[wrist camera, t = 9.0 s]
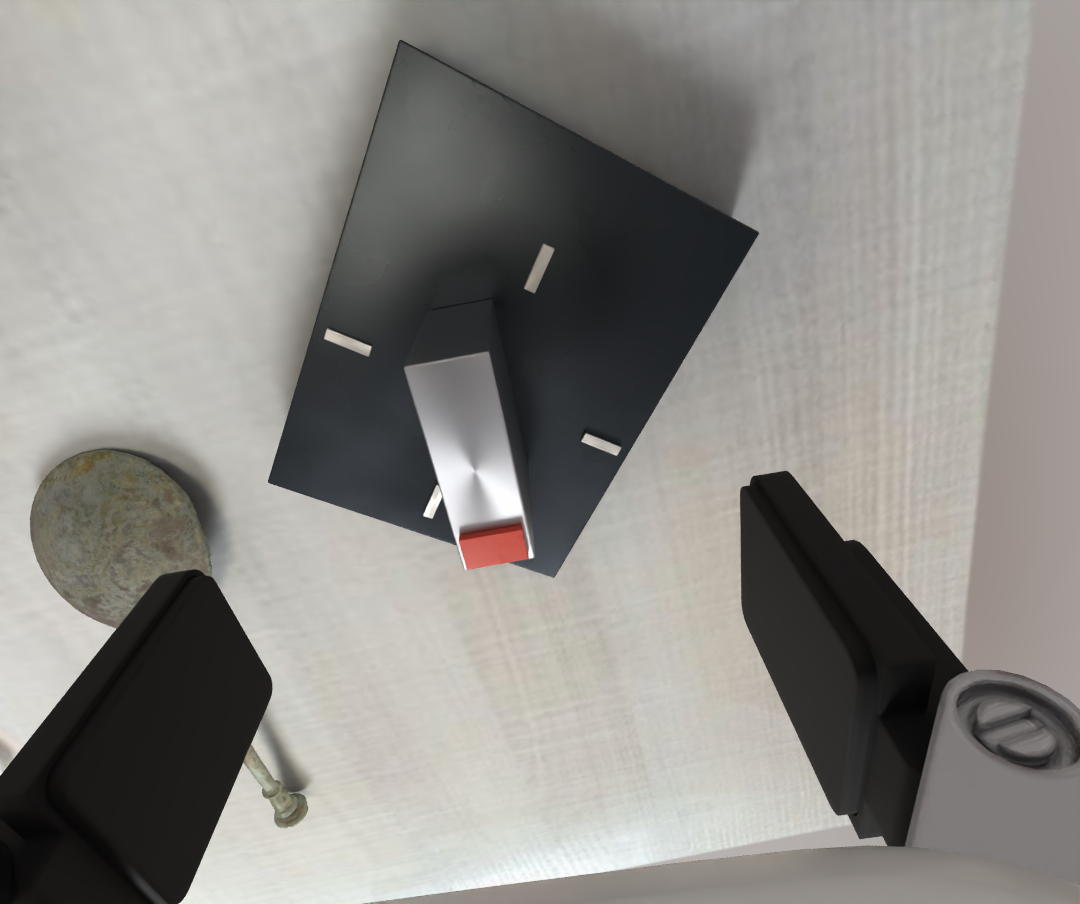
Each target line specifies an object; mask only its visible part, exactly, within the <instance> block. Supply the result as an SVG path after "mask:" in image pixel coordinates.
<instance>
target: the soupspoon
mask: <svg viewBox="0 0 1080 904" xmlns="http://www.w3.org/2000/svg"><path fill="white" fill-rule="evenodd" d="M30 533H31V540H32V544H33V549H34V552H35V555H36V558H37V562H38V563H39V565H40V567H41V569H42V571H43V573H44V575H45V576H46V578H47V579H48V581H49V582H50V584H51V585H52V586H53V587H54V589H55V590H56V591H57V592H58V593H59V594H60V595H61V596H62V597H63V598H64V599H65V600H66V601H67V602H68V603H69V604H71V605H72V606H73V607H74V608H75V609H77V610H78V611H80V612H81V613H83V614H85V615H86V616H88V617H91V618H92V619H94V620H96V621H98V622H101V623H103V624H106V625H109V626H112V627H114V628H118V627H119V625H120V624H121V623H122V622H123V620H124V619H125V618H126V616H127V615H128V614H129V613H130V611H131V610H132V609H133V608H134V606H135V605H136V604H137V603H138V601H139V600H140V599H141V598H142V596H143V595H144V594H145V592H146V591H147V590H148V589H149V587H150V586H151V585H152V584H153V582H154V581H155V580H156V579H157V578H158V577H159V576H161V575H164V574H168V573H174V572H180V571H186V570H192V569H196V570H200V571H201V572H203V573H204V574H205V575H206V576H210V577H211V569H212V566H211V561H210V551H209V546H208V544H207V541H206V539H205V535H204V533H203V530H202V527H201V525H200V522H199V520H198V517H197V513H196V511H195V509H194V506H193V502H192V501H191V500H190V498H189V496H188V494H187V493H186V492H184V490H183V489H182V488H181V487H180V486H179V485H178V484H177V483H176V482H175V481H174V480H172V479H171V476H167V474H166V473H165V472H164V471H163V470H162V469H160V468H159V467H156V466H155V465H153V464H152V463H151V462H149V461H148V460H145V459H142V458H140V457H136V456H135V455H131V454H128V453H122V452H118V451H114V450H104V449H103V450H96V451H92V452H84V453H80V454H78V455H76V456H74V457H72V458H71V459H67V460H65V461H64V462H63V463H61V464H60V465H58V466H57V467H56V468H54V469H53V470H52V471H51V472H50V473H49V474H48V475H47V477H46V478H45V479H44V480H43V482H42V484H41V485H40V487H39V489H38V491H37V493H36V495H35V497H34V501H33V504H32V510H31V516H30ZM244 764H245V765H246V767H247V768H248V769H249V771H250V772H251V773H252V775H253V776H254V777H255V779H256V780H257V781H258V783H259V784H260V785H261V786H262V787H263V789H262V794H263V796H264V797H265V798H266V799H269V800H270V802H271V804H272V806H273V807H274V809H275V815H274V821H275V824H276V825H277V826H278V827H279V828H288V827H293V826H295V825H297V824H299V823H300V822H301V821H302V820H303V818H304V817H305V816H306V814H307V811H308V806H307V801H306V797H305V796H304V795H302V794H299V793H293V794H289V793H288V792H287V791H286V790H285V789H283V788H282V785H281V783H280V782H279V781H277V780H274V779H273V778H272V776H271V774H270V773H269V771H268V770H267V768H266V767H265V765H264V764H263V762H262V761H261V759H260V758H259V756H258V755H257V753H256V751H255V750H254V748H253V747H252V745H250V748H249V750H248V752H247V755H246V757H245V759H244Z"/></svg>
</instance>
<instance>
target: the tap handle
mask: <svg viewBox="0 0 1080 904" xmlns="http://www.w3.org/2000/svg"><path fill="white" fill-rule="evenodd" d="M404 371H405V375H406V378H407V381H408V385H409V388H410V391H411V395H412V398H413V401H414V405H415V408H416V411H417V415H418V418H419V421H420V425H421V428H422V431H423V435H424V438H425V441H426V445H427V448H428V451H429V455H430V458H431V461H432V465H433V468H434V471H435V475H436V478H437V481H438V485H439V488H440V491H441V495H442V498H443V501H444V505H445V508H446V511H447V515H448V518H449V522H450V525H451V528H452V532H453V535H454V538H455V542H456V545H457V548H458V552H459V555H460V558H461V562H462V565H463V568H464V570H468V569H474V568H479V567H485V566H491V565H497V564H503V563H508V562H514V561H520V560H526V559H532V558H535V549H534V536H533V522H532V508H531V495H530V481H529V468H528V463H527V458H526V454H525V449H524V444H523V439H522V435H521V430H520V425H519V420H518V416H517V411H516V406H515V401H514V397H513V392H512V387H511V382H510V378H509V373H508V368H507V363H506V359H505V354H504V349H503V345H502V340H501V335H500V330H499V326H498V321H497V316H496V311H495V307H494V302H493V299H489V300H484V301H478V302H473V303H468V304H462V305H457V306H452V307H446V308H441V309H436V310H430V311H428V313H427V315H426V318H425V320H424V322H423V325H422V327H421V329H420V331H419V334H418V336H417V338H416V341H415V343H414V345H413V347H412V350H411V352H410V354H409V357H408V359H407V361H406V363H405V366H404Z"/></svg>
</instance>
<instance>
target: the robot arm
mask: <svg viewBox="0 0 1080 904" xmlns="http://www.w3.org/2000/svg"><path fill="white" fill-rule="evenodd" d="M740 517H741V599H742V610H743V615H744V619H745V622H746V624H747V627H748V629H749V631H750V633H751V635H752V638H753V640H754V642H755V644H756V646H757V648H758V650H759V653H760V655H761V657H762V659H763V661H764V663H765V666H766V668H767V670H768V672H769V674H770V676H771V679H772V681H773V683H774V685H775V687H776V689H777V691H778V694H779V696H780V698H781V700H782V702H783V704H784V707H785V709H786V711H787V713H788V715H789V717H790V720H791V722H792V724H793V726H794V728H795V730H796V732H797V735H798V737H799V739H800V741H801V743H802V745H803V748H804V750H805V752H806V754H807V756H808V758H809V761H810V763H811V765H812V767H813V769H814V771H815V774H816V776H817V778H818V780H819V782H820V784H821V786H822V789H823V791H824V793H825V795H826V797H827V799H828V802H829V804H830V805H831V807H832V809H833V811H834V812H835V813H836V814H837V815H838V816H839V815H846V814H848V816H849V818H850V820H851V822H852V824H853V826H854V829H855V831H856V833H857V835H858V837H859V839H864V838H872V837H879V836H883V838H884V840H885V842H886V844H887V846H855V847H838V848H819V849H802V850H792V851H783V852H774V853H765V854H756V855H746V856H737V857H729V858H720V859H710V860H700V861H691V862H682V863H673V864H666V865H658V866H651V867H642V868H634V869H626V870H618V871H611V872H603V873H595V874H587V875H579V876H571V877H564V878H556V879H548V880H540V881H532V882H524V883H516V884H509V885H501V886H493V887H485V888H478V889H470V890H463V891H455V892H447V893H440V894H432V895H425V896H417V897H410V898H402V899H395V900H387V901H380V902H372V903H365V904H1080V709H1079V708H1077V707H1076V706H1075V705H1074V704H1073V703H1072V702H1071V701H1070V700H1069V699H1067V698H1066V697H1064V696H1062V695H1061V694H1059V693H1058V692H1056V691H1054V690H1053V689H1051V688H1050V687H1048V686H1046V685H1044V684H1041V683H1039V682H1037V681H1034V680H1032V679H1029V678H1027V677H1025V676H1022V675H1018V674H1013V673H1009V672H1004V671H1000V670H975V671H970V672H969V671H968V670H967V669H966V668H965V667H964V665H963V664H962V663H961V662H960V661H959V659H958V658H957V657H956V656H955V655H954V653H953V652H952V651H951V650H950V649H949V647H948V646H947V645H946V644H945V642H944V641H943V640H942V639H941V638H940V636H939V635H938V634H937V633H936V632H935V630H934V629H933V628H932V627H931V626H930V624H929V623H928V622H927V621H926V620H925V618H924V617H923V616H922V615H921V614H920V612H919V611H918V610H917V609H916V608H915V606H914V605H913V604H912V603H911V602H910V600H909V599H908V598H907V597H906V596H905V594H904V593H903V592H902V591H901V589H900V588H899V587H898V586H897V585H896V583H895V582H894V581H893V580H892V579H891V577H890V576H889V575H888V574H887V573H886V571H885V570H884V569H883V568H882V567H881V565H880V564H879V563H878V562H877V561H876V559H875V558H874V557H873V556H872V555H871V553H870V552H869V551H868V550H867V549H866V548H865V547H864V546H863V545H862V544H861V543H860V542H858V541H855V540H850V541H844V540H843V539H842V538H841V537H840V535H839V534H838V533H837V531H836V530H835V529H834V528H833V526H832V525H831V524H830V523H829V521H828V520H827V519H826V518H825V516H824V515H823V514H822V512H821V511H820V510H819V509H818V507H817V506H816V505H815V504H814V502H813V501H812V500H811V499H810V497H809V496H808V495H807V494H806V492H805V491H804V490H803V488H802V487H801V486H800V485H799V483H798V482H797V481H796V480H795V478H794V477H793V476H792V475H791V474H790V473H789V472H788V471H782V472H776V473H770V474H764V475H758V476H753V477H752V478H751V481H750V486H744V487H742V488H741V491H740ZM271 695H272V680H271V677H270V675H269V673H268V672H267V670H266V668H265V666H264V665H263V663H262V661H261V659H260V658H259V656H258V654H257V653H256V651H255V649H254V647H253V646H252V644H251V642H250V640H249V639H248V637H247V635H246V634H245V632H244V630H243V628H242V627H241V625H240V623H239V621H238V620H237V618H236V616H235V614H234V613H233V611H232V609H231V608H230V606H229V604H228V602H227V601H226V599H225V597H224V595H223V594H222V592H221V590H220V589H219V587H218V585H217V583H216V582H215V580H214V579H213V578H212V577H210V576H206V575H205V574H204V573H203V572H201V571H200V570H196V569H192V570H186V571H180V572H174V573H168V574H164V575H161V576H159V577H158V578H157V579H156V580H155V581H154V582H153V584H152V585H151V586H150V587H149V589H148V590H147V591H146V592H145V594H144V595H143V596H142V598H141V599H140V600H139V601H138V603H137V604H136V605H135V606H134V608H133V609H132V610H131V611H130V613H129V614H128V615H127V616H126V618H125V619H124V620H123V622H122V623H121V624H120V625H119V627H118V628H117V629H116V630H115V632H114V633H113V634H112V635H111V637H110V638H109V639H108V640H107V642H106V643H105V644H104V646H103V647H102V648H101V649H100V651H99V652H98V653H97V654H96V656H95V657H94V658H93V659H92V661H91V662H90V663H89V664H88V666H87V667H86V668H85V670H84V671H83V672H82V673H81V675H80V676H79V677H78V678H77V680H76V681H75V682H74V683H73V685H72V686H71V687H70V688H69V690H68V691H67V692H66V694H65V695H64V696H63V697H62V699H61V700H60V701H59V702H58V704H57V705H56V706H55V707H54V709H53V710H52V711H51V712H50V714H49V715H48V716H47V718H46V719H45V720H44V721H43V723H42V724H41V725H40V726H39V728H38V729H37V730H36V731H35V733H34V734H33V735H32V736H31V738H30V739H29V740H28V742H27V743H26V744H25V745H24V747H23V748H22V749H21V750H20V752H19V753H18V754H17V755H16V757H15V758H14V759H13V760H12V762H11V763H10V764H9V766H8V767H7V768H6V769H5V771H4V772H3V773H2V774H1V776H0V904H179V903H180V902H181V901H182V900H183V899H184V897H185V896H186V894H187V892H188V890H189V888H190V886H191V883H192V881H193V879H194V876H195V874H196V872H197V869H198V867H199V865H200V862H201V860H202V858H203V855H204V853H205V851H206V848H207V846H208V844H209V841H210V839H211V837H212V834H213V832H214V830H215V827H216V825H217V823H218V820H219V818H220V816H221V813H222V811H223V809H224V806H225V804H226V802H227V799H228V797H229V795H230V792H231V790H232V787H233V785H234V783H235V780H236V778H237V776H238V773H239V771H240V769H241V766H242V764H243V762H244V759H245V757H246V755H247V752H248V750H249V748H250V745H251V743H252V741H253V738H254V736H255V734H256V731H257V729H258V727H259V724H260V722H261V720H262V717H263V715H264V713H265V710H266V708H267V706H268V703H269V701H270V698H271Z"/></svg>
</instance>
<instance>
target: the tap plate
mask: <svg viewBox="0 0 1080 904" xmlns="http://www.w3.org/2000/svg"><path fill="white" fill-rule="evenodd" d="M758 234H759V232H758V231H756V230H754V229H752V228H750V227H749V226H747V225H745V224H743V223H741V222H739V221H737V220H736V219H734V218H732V217H730V216H728V215H726V214H724V213H723V212H721V211H719V210H717V209H715V208H713V207H711V206H710V205H708V204H706V203H704V202H702V201H700V200H698V199H697V198H695V197H693V196H691V195H689V194H687V193H685V192H684V191H682V190H680V189H678V188H676V187H674V186H672V185H671V184H669V183H667V182H665V181H663V180H661V179H659V178H658V177H656V176H654V175H652V174H650V173H648V172H646V171H645V170H643V169H641V168H639V167H637V166H635V165H633V164H632V163H630V162H628V161H626V160H624V159H622V158H620V157H619V156H617V155H615V154H613V153H611V152H609V151H607V150H606V149H604V148H602V147H600V146H598V145H596V144H594V143H593V142H591V141H589V140H587V139H585V138H583V137H581V136H580V135H578V134H576V133H574V132H572V131H570V130H568V129H567V128H565V127H563V126H561V125H559V124H557V123H555V122H554V121H552V120H550V119H548V118H546V117H544V116H542V115H541V114H539V113H537V112H535V111H533V110H531V109H529V108H528V107H526V106H524V105H522V104H520V103H518V102H516V101H515V100H513V99H511V98H509V97H507V96H505V95H503V94H502V93H500V92H498V91H496V90H494V89H492V88H490V87H489V86H487V85H485V84H483V83H481V82H479V81H477V80H476V79H474V78H472V77H470V76H468V75H466V74H464V73H463V72H461V71H459V70H457V69H455V68H453V67H451V66H450V65H448V64H446V63H444V62H442V61H440V60H438V59H437V58H435V57H433V56H431V55H429V54H427V53H425V52H424V51H422V50H420V49H418V48H416V47H414V46H412V45H410V44H409V43H407V42H405V41H403V40H399V43H398V46H397V49H396V53H395V56H394V60H393V63H392V66H391V70H390V73H389V76H388V80H387V83H386V86H385V90H384V93H383V96H382V100H381V103H380V107H379V110H378V113H377V117H376V120H375V123H374V127H373V130H372V133H371V137H370V140H369V144H368V147H367V150H366V154H365V157H364V160H363V164H362V167H361V170H360V174H359V177H358V181H357V184H356V187H355V191H354V194H353V197H352V201H351V204H350V207H349V211H348V214H347V217H346V221H345V224H344V228H343V231H342V234H341V238H340V241H339V244H338V248H337V251H336V254H335V258H334V261H333V265H332V268H331V271H330V275H329V278H328V281H327V285H326V288H325V291H324V295H323V298H322V302H321V305H320V308H319V312H318V315H317V318H316V322H315V325H314V328H313V332H312V335H311V338H310V342H309V345H308V349H307V352H306V355H305V359H304V362H303V365H302V369H301V372H300V375H299V379H298V382H297V386H296V389H295V392H294V396H293V399H292V402H291V406H290V409H289V412H288V416H287V419H286V422H285V426H284V429H283V433H282V436H281V439H280V443H279V446H278V449H277V453H276V456H275V459H274V463H273V466H272V470H271V473H270V476H269V480H268V483H270V484H273V485H276V486H279V487H282V488H285V489H288V490H291V491H294V492H297V493H300V494H303V495H306V496H310V497H313V498H316V499H319V500H322V501H325V502H328V503H331V504H334V505H337V506H340V507H343V508H346V509H349V510H352V511H355V512H358V513H361V514H364V515H367V516H370V517H373V518H376V519H379V520H382V521H385V522H388V523H391V524H394V525H397V526H400V527H403V528H406V529H409V530H412V531H415V532H418V533H421V534H424V535H427V536H430V537H433V538H436V539H439V540H442V541H445V542H448V543H451V544H454V545H456V542H455V538H454V535H453V532H452V528H451V525H450V522H449V518H448V515H447V511H446V508H445V505H444V501H443V498H442V495H441V491H440V488H439V485H438V481H437V478H436V475H435V471H434V468H433V465H432V461H431V458H430V455H429V451H428V448H427V445H426V441H425V438H424V435H423V431H422V428H421V425H420V421H419V418H418V415H417V411H416V408H415V405H414V401H413V398H412V395H411V391H410V388H409V385H408V381H407V378H406V375H405V371H404V366H405V363H406V361H407V359H408V357H409V354H410V352H411V350H412V347H413V345H414V343H415V341H416V338H417V336H418V334H419V331H420V329H421V327H422V325H423V322H424V320H425V318H426V315H427V313H428V311H430V310H436V309H441V308H446V307H452V306H457V305H462V304H468V303H473V302H478V301H484V300H489V299H493V302H494V307H495V311H496V316H497V321H498V326H499V330H500V335H501V340H502V345H503V349H504V354H505V359H506V363H507V368H508V373H509V378H510V382H511V387H512V392H513V397H514V401H515V406H516V411H517V416H518V420H519V425H520V430H521V435H522V439H523V444H524V449H525V454H526V458H527V463H528V468H529V481H530V495H531V508H532V522H533V536H534V549H535V558H532V559H526V560H520V561H514V562H508V563H511V564H514V565H517V566H520V567H523V568H526V569H529V570H532V571H535V572H538V573H541V574H544V575H547V576H550V577H553V578H554V577H555V576H556V574H557V572H558V571H559V569H560V567H561V566H562V564H563V562H564V560H565V559H566V557H567V555H568V554H569V552H570V550H571V549H572V547H573V545H574V544H575V542H576V540H577V539H578V537H579V535H580V534H581V532H582V530H583V529H584V527H585V525H586V523H587V522H588V520H589V518H590V517H591V515H592V513H593V512H594V510H595V508H596V507H597V505H598V503H599V502H600V500H601V498H602V497H603V495H604V493H605V492H606V490H607V488H608V487H609V485H610V483H611V481H612V480H613V478H614V476H615V475H616V473H617V471H618V470H619V468H620V466H621V465H622V463H623V461H624V460H625V458H626V456H627V455H628V453H629V451H630V450H631V448H632V446H633V444H634V443H635V441H636V439H637V438H638V436H639V434H640V433H641V431H642V429H643V428H644V426H645V424H646V423H647V421H648V419H649V418H650V416H651V414H652V413H653V411H654V409H655V407H656V406H657V404H658V402H659V401H660V399H661V397H662V396H663V394H664V392H665V391H666V389H667V387H668V386H669V384H670V382H671V381H672V379H673V377H674V376H675V374H676V372H677V371H678V369H679V367H680V365H681V364H682V362H683V360H684V359H685V357H686V355H687V354H688V352H689V350H690V349H691V347H692V345H693V344H694V342H695V340H696V339H697V337H698V335H699V334H700V332H701V330H702V328H703V327H704V325H705V323H706V322H707V320H708V318H709V317H710V315H711V313H712V312H713V310H714V308H715V307H716V305H717V303H718V302H719V300H720V298H721V297H722V295H723V293H724V292H725V290H726V288H727V286H728V285H729V283H730V281H731V280H732V278H733V276H734V275H735V273H736V271H737V270H738V268H739V266H740V265H741V263H742V261H743V260H744V258H745V256H746V255H747V253H748V251H749V249H750V248H751V246H752V244H753V243H754V241H755V239H756V238H757V236H758Z"/></svg>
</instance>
